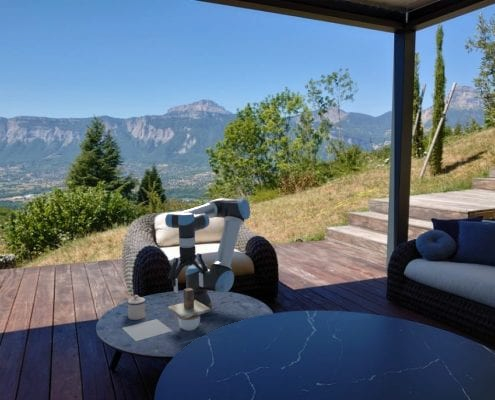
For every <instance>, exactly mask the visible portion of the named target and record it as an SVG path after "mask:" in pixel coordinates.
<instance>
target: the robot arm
mask: <svg viewBox="0 0 495 400" xmlns="http://www.w3.org/2000/svg"><path fill="white" fill-rule="evenodd" d="M250 216H251V207H250V203H249V200H247V199H245V198H240V197H239V198H230V197H229V198H228V197H222V198H221V197H220V198H217V199H213V200H210V201H206V202H205V203H204V204H203V205H200V206H196V207H193V208H192V207H191V208H190V209H187V210H183V211H180V212H179V211H178V212H169V213H167V214H166V215H165V218H164V220H165V225H166V226H167V227H168V228H171V229H178V242H179V243H178V244H179V248H178V249H179V257H173V263H172V264H171V268H170V270H169V272H168V275H167V278H168V279H170V280H171V285H172V287H173V293H176V294H178V293H179V285H178V283H179V282H178V281H179V280H178V276H179V275H180V274H181V272H182V270H183V269H184V268H185V267H187V266H188V267H187V268H186V269H185V284H186V285H185V286H186V288H185V289H187V288H191V289H193V290H194V300H196V301H198V302H200V303H202V304H203V305H205V306H207V307H209V308H210V309H211V307H212V301H211V298H210V295H209V292H208V291H210V292H211V291H212V292H216V293H227V292H229V291H230V290H231V288H232V287H233V285H234V281H235V274H234V272H233V268H232V266H231V264H232V259H233V256H234V252H235V249H236V244H237V241H238V236H239V233H240V229H241V226H242V225H244V223H245V221H246V220H249V218H250ZM214 218H222V219H223V220H224V222H225V223H224V226H223V229H222V230H223V231H222V234H221V239H220V241H219V246H218V249H217V253H216V256H215V261H214V262H213V263H211V265H210V268H209V267H208V265H207V264H206V263H205V261H204V259H203V257H202V254H201V253H199V252H198V253H196V246H195V245H196V231H197V232H198V231H201V230H204V229H206V228H207V227H209V225H210V219H214ZM196 259H197V260H198V262H197V261H196Z"/></svg>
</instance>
